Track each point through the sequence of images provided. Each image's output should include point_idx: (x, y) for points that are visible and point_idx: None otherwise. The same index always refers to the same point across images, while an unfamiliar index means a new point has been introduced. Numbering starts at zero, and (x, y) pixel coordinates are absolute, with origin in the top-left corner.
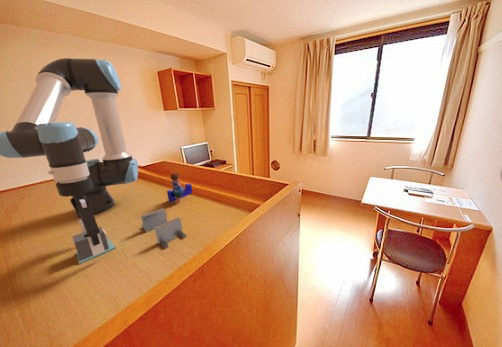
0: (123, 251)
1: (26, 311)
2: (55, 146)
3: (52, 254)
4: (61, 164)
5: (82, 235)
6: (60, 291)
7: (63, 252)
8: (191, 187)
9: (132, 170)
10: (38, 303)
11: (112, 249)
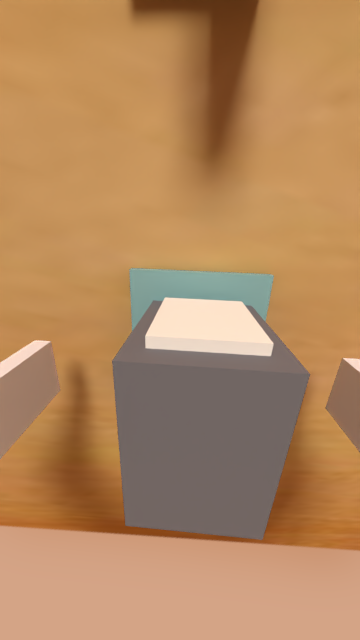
0: (351, 252)
1: (351, 526)
2: None
3: (65, 454)
4: None
5: (181, 492)
6: (357, 476)
7: (81, 431)
8: None
9: None
10: (348, 510)
11: (269, 292)
